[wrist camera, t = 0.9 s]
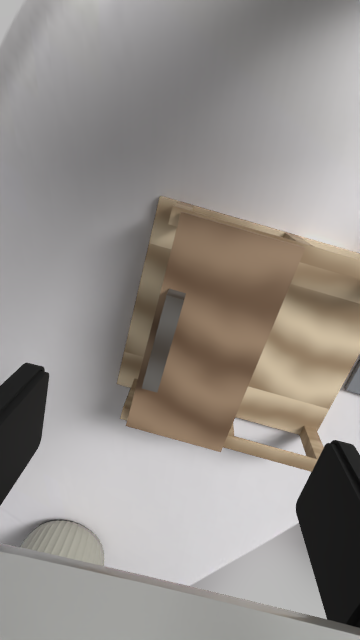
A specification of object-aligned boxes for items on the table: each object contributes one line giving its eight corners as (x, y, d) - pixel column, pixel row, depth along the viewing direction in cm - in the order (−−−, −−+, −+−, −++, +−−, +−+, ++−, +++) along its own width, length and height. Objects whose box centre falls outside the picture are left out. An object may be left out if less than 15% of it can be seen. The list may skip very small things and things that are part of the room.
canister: (-2, 528, 59) (-107, 697, 40) (70, 488, 54) (-10, 660, 35) (69, 586, 64) (6, 762, 45) (141, 554, 59) (106, 739, 39)
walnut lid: (181, 211, 29) (178, 214, 27) (303, 246, 30) (311, 252, 27) (127, 421, 39) (121, 438, 36) (220, 446, 39) (221, 465, 36)
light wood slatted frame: (161, 195, 36) (149, 199, 30) (401, 265, 37) (443, 284, 30) (118, 379, 45) (102, 413, 39) (311, 433, 46) (327, 476, 39)
